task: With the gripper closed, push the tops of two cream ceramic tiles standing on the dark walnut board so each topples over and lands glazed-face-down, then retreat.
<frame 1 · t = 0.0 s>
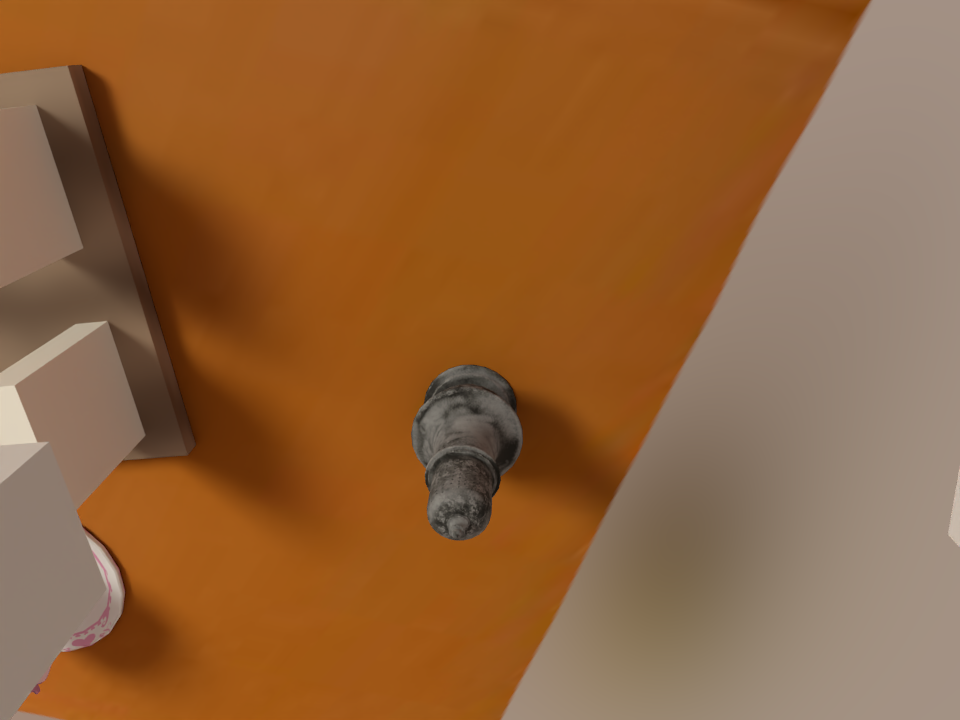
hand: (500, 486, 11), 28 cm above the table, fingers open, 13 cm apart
teacup: (37, 574, 48), on the table
tile 2: (111, 381, 40), point 1 cm above the table, touching walnut board
walnut board: (4, 288, 40), on the table
grey stone finial: (470, 405, 42), on the table
tile 1: (43, 181, 36), point 1 cm above the table, touching walnut board
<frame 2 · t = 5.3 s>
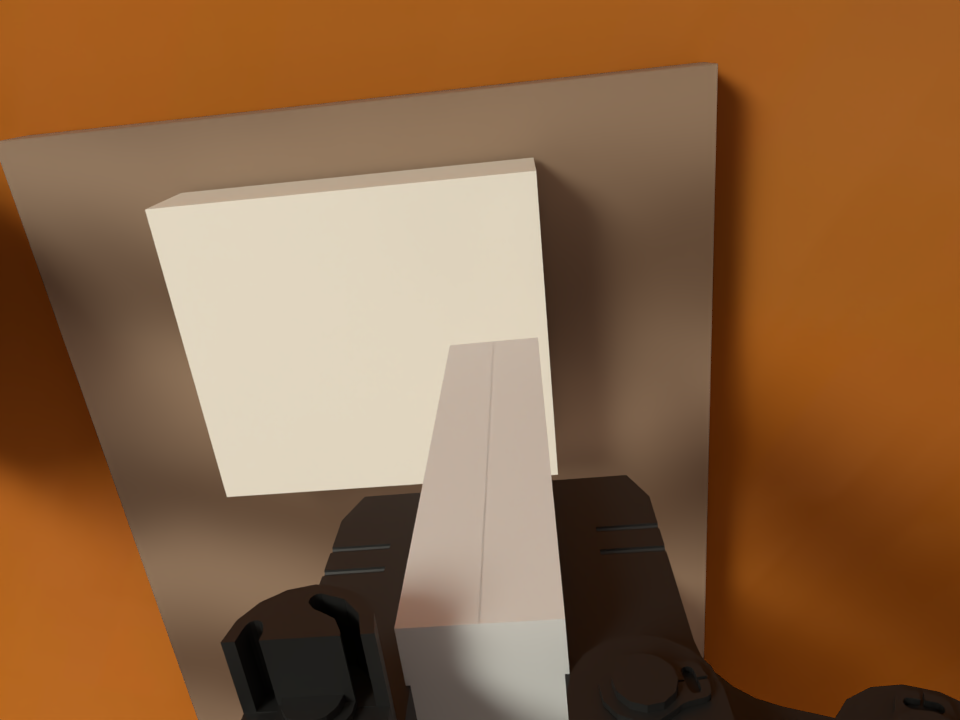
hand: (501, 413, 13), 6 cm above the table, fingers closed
walnut board: (415, 483, 21), on the table
tile 1: (546, 321, 17), point 2 cm above the table, tilted 90°, touching walnut board
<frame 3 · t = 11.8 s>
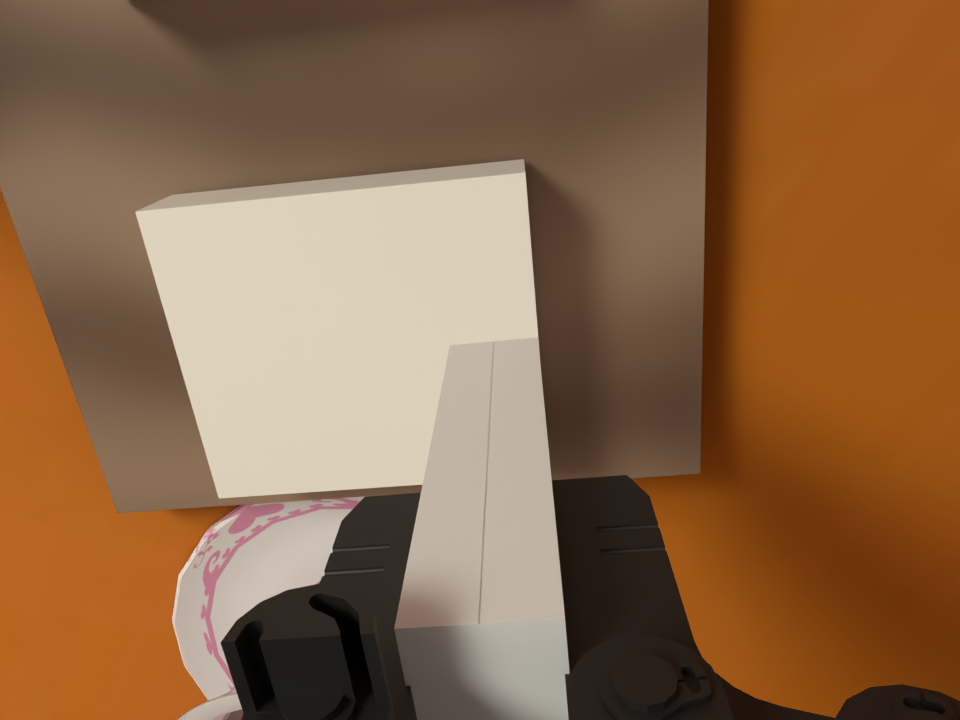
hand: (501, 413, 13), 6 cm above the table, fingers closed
teacup: (365, 625, 24), on the table
tile 2: (536, 322, 17), point 2 cm above the table, tilted 90°, touching walnut board
walnut board: (340, 79, 17), on the table
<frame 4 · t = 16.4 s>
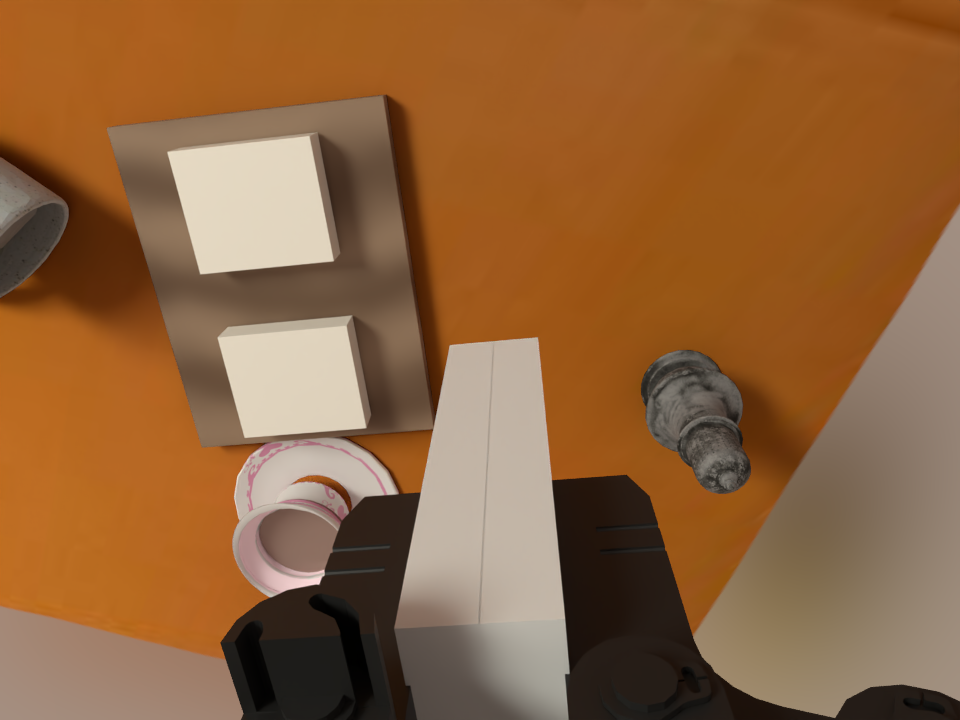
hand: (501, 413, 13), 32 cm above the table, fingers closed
teacup: (320, 500, 53), on the table
tile 2: (359, 372, 46), point 2 cm above the table, tilted 90°, touching walnut board
ceramic mug: (1, 216, 45), on the table
walnut board: (288, 284, 46), on the table
grey stone finial: (680, 385, 48), on the table
tile 1: (325, 197, 42), point 2 cm above the table, tilted 90°, touching walnut board
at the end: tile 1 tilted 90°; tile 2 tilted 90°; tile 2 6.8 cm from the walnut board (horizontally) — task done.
